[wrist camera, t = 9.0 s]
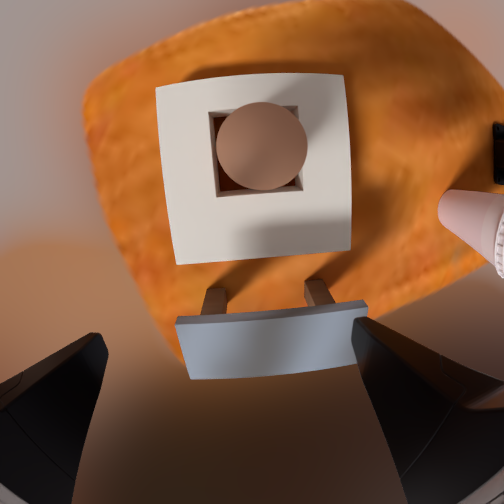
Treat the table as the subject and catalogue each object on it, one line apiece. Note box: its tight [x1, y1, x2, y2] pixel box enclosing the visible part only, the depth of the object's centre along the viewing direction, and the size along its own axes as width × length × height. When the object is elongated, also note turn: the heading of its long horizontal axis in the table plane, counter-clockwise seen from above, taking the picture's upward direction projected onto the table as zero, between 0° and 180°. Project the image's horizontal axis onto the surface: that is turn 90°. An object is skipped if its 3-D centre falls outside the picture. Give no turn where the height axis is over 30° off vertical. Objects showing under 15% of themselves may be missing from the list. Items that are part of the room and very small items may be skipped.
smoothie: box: [438, 189, 504, 278], centre depth 14 cm, size 6×6×14 cm
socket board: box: [156, 73, 352, 265], centre depth 18 cm, size 12×12×3 cm
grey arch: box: [175, 279, 368, 379], centre depth 18 cm, size 10×4×9 cm, turn 95°
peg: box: [216, 102, 308, 190], centre depth 15 cm, size 4×4×8 cm
